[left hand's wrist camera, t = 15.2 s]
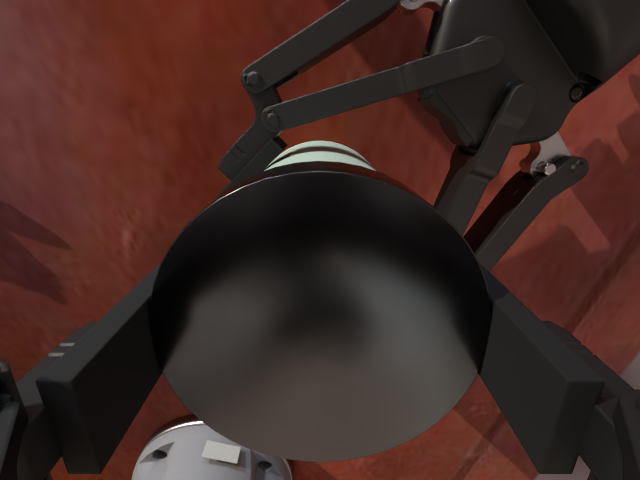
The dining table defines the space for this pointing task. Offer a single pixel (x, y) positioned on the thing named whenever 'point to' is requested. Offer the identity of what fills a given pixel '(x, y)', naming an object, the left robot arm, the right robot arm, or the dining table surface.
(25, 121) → the dining table surface
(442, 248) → the lid
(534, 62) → the right robot arm
